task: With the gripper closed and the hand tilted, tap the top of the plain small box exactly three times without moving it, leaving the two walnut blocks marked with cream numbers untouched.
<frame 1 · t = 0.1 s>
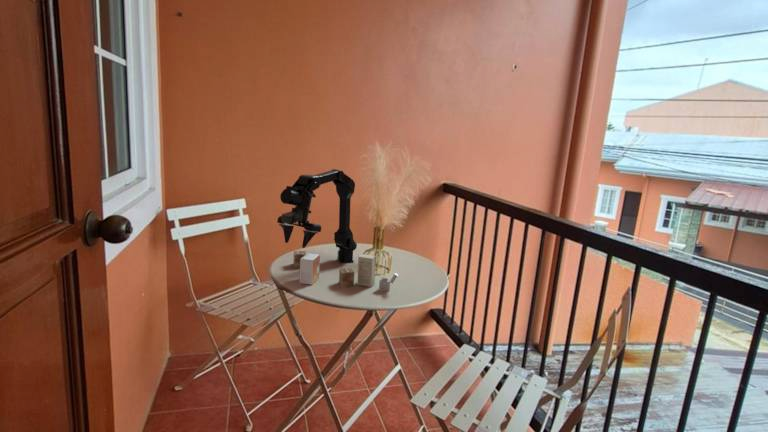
hand: (294, 245, 157), 15 cm above the table, tool pointing down, fingers open, 9 cm apart
walnut block one: (346, 284, 161), on the table
skincare box: (365, 284, 163), on the table
walnut block seven: (299, 265, 178), on the table
lighter: (387, 291, 158), on the table
small box: (309, 281, 162), on the table
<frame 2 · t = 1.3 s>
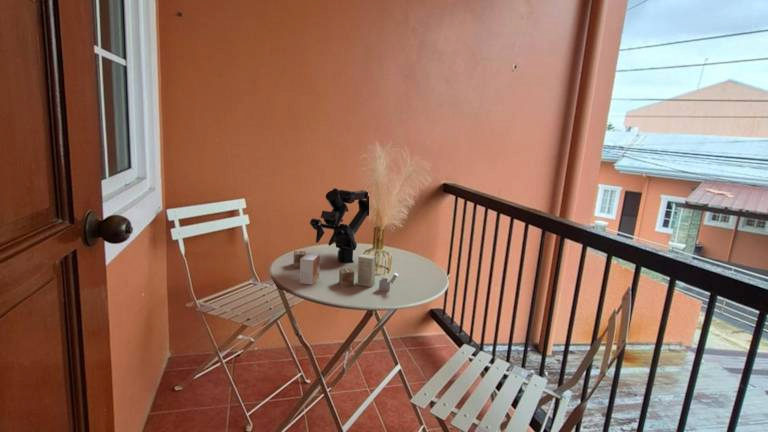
hand: (322, 243, 167), 14 cm above the table, tool tilted 45°, fingers open, 6 cm apart
nothing on the table moved.
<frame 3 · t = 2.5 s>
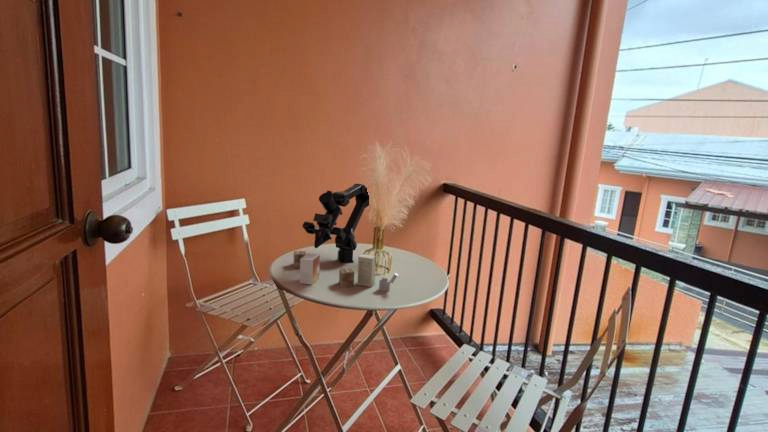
hand: (315, 247, 162), 13 cm above the table, tool tilted 45°, fingers closed
nothing on the table moved.
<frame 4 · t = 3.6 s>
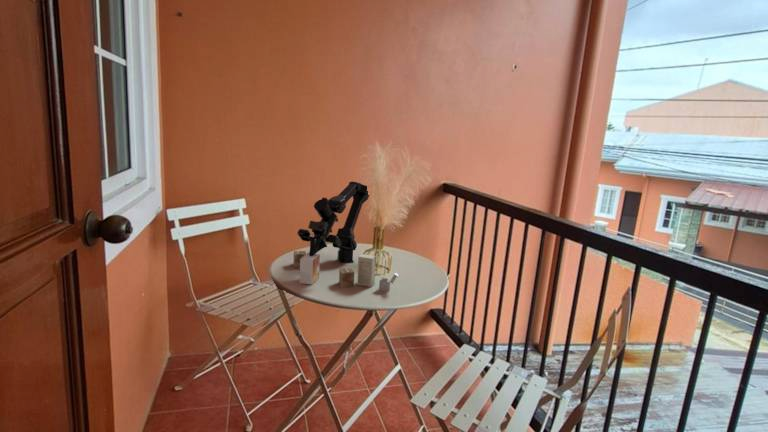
hand: (310, 255, 160), 11 cm above the table, tool tilted 45°, fingers closed, pressing on small box
small box: (309, 280, 162), on the table, touching gripper
everything else where it was.
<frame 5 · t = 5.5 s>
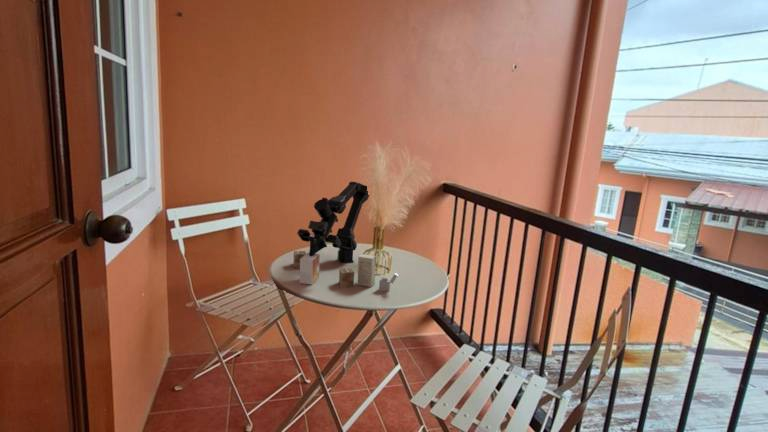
hand: (310, 255, 159), 11 cm above the table, tool tilted 45°, fingers closed, pressing on small box
small box: (309, 280, 162), on the table, touching gripper
everything else where it was.
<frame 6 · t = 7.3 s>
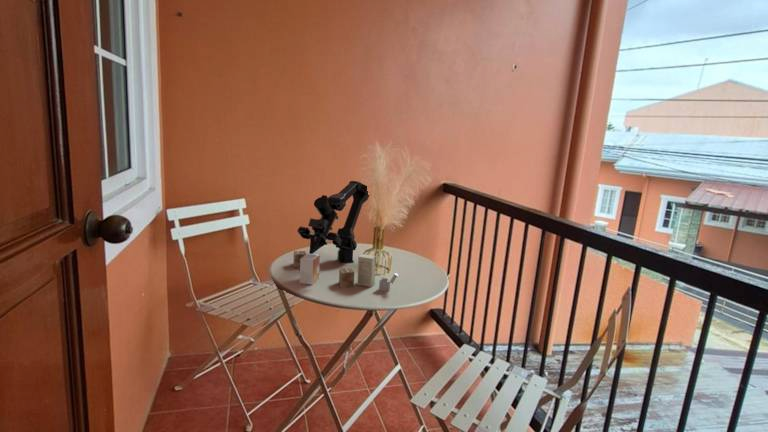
hand: (310, 253, 159), 12 cm above the table, tool tilted 45°, fingers closed
small box: (309, 281, 162), on the table
everything else where it was.
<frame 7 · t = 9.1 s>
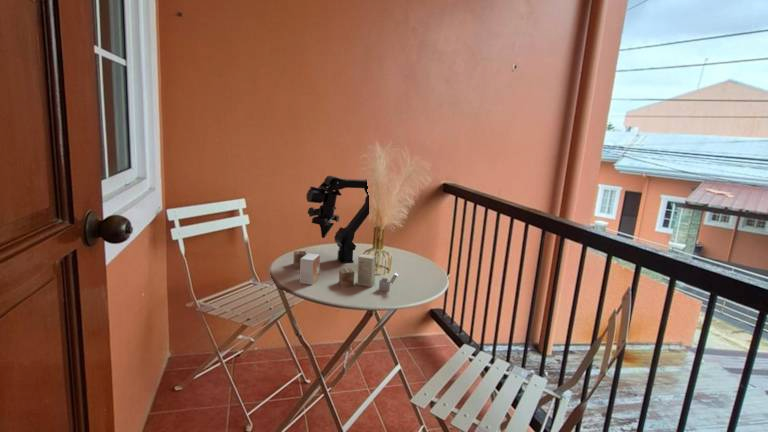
hand: (323, 237, 179), 13 cm above the table, tool pointing down, fingers closed
nothing on the table moved.
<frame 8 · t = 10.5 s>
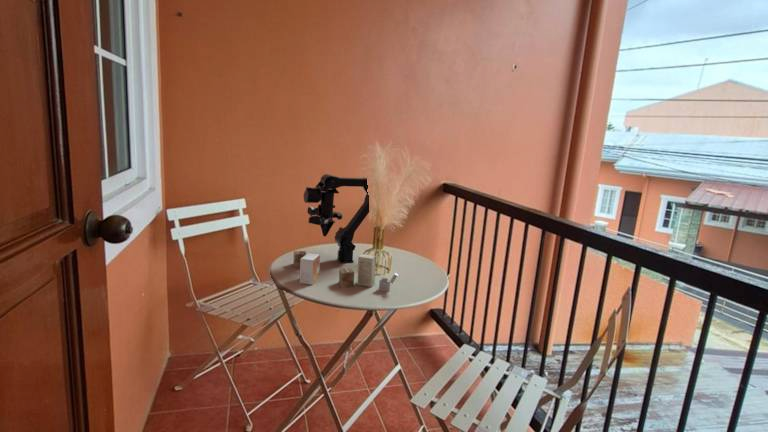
hand: (324, 236, 180), 13 cm above the table, tool pointing down, fingers closed
nothing on the table moved.
at the end: small box moved 0.3 cm from its start; small box tilted 0°; walnut block one moved 0.1 cm from its start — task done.
